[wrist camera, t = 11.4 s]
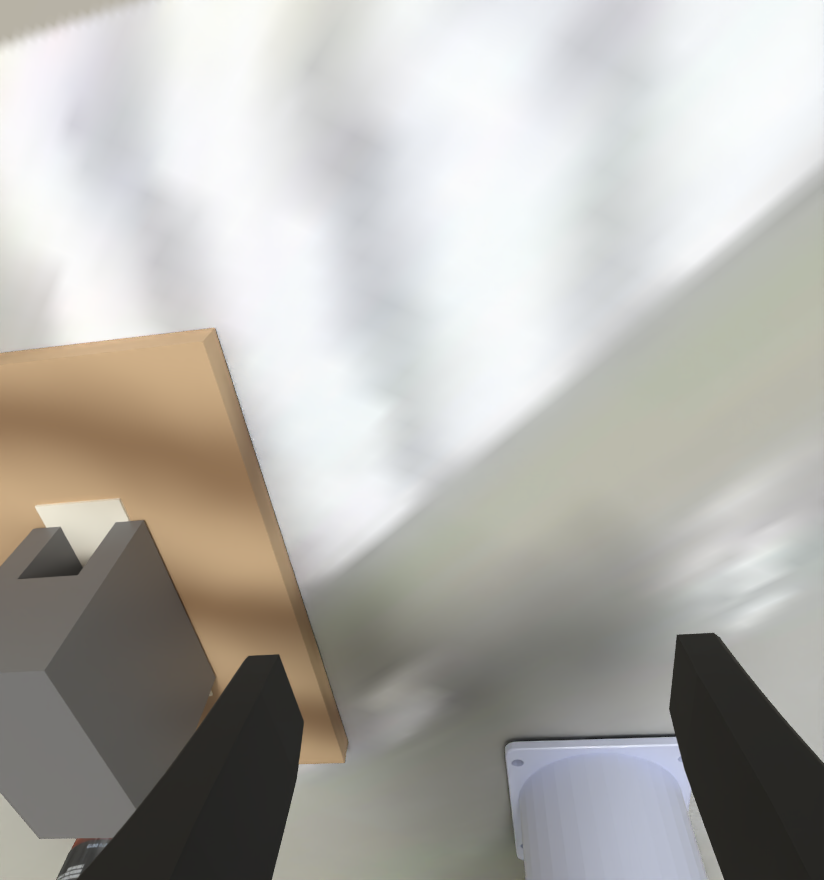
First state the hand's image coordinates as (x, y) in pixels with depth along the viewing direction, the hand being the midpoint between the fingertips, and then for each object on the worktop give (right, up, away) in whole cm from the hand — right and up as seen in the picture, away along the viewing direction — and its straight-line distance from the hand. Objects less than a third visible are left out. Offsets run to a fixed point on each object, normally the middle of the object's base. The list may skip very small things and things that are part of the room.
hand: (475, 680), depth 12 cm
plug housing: (-11, -2, +12) cm, 17 cm away
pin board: (-11, -1, +13) cm, 17 cm away
